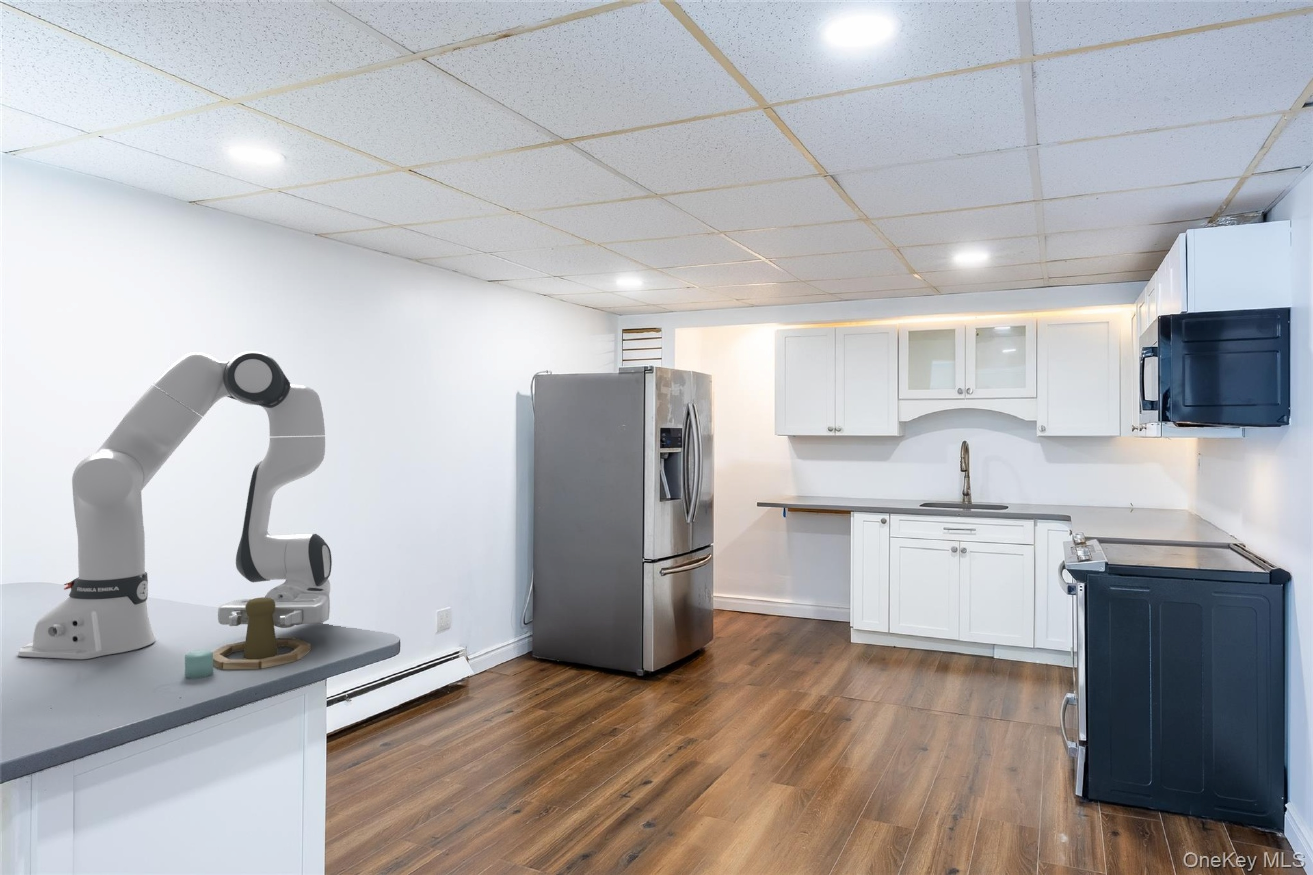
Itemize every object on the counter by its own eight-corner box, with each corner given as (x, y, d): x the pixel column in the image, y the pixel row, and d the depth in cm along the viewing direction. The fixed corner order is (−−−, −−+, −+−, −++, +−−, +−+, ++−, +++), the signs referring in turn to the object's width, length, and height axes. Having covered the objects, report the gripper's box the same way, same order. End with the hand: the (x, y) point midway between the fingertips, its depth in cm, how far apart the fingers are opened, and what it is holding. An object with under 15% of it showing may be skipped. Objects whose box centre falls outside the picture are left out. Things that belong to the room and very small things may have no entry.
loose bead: (189, 680, 142) (189, 660, 142) (181, 673, 145) (181, 654, 145) (216, 674, 145) (217, 655, 145) (208, 667, 148) (208, 648, 148)
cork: (263, 661, 153) (262, 602, 153) (235, 658, 155) (235, 600, 154) (285, 652, 159) (284, 596, 159) (258, 650, 161) (258, 594, 160)
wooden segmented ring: (193, 669, 148) (193, 663, 148) (235, 644, 164) (235, 638, 164) (287, 668, 149) (287, 662, 149) (320, 643, 165) (320, 637, 165)
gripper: (235, 590, 169) (201, 605, 155) (336, 589, 170) (312, 604, 156) (235, 620, 169) (202, 638, 155) (336, 619, 170) (312, 637, 156)
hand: (258, 621), depth 155 cm, fingers open, 8 cm apart
